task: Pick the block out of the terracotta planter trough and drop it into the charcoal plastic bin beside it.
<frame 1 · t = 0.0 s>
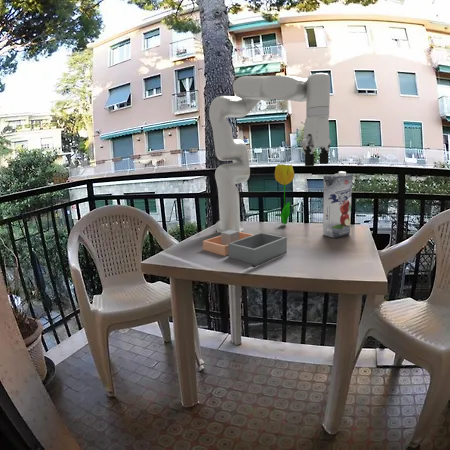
hand: (316, 164, 112), 31 cm above the table, tool pointing down, fingers open, 9 cm apart
trough: (230, 249, 125), on the table
block: (230, 246, 125), point 1 cm above the table, touching trough
juice carton: (336, 235, 137), on the table
flower: (284, 225, 158), on the table
bin: (258, 256, 115), on the table
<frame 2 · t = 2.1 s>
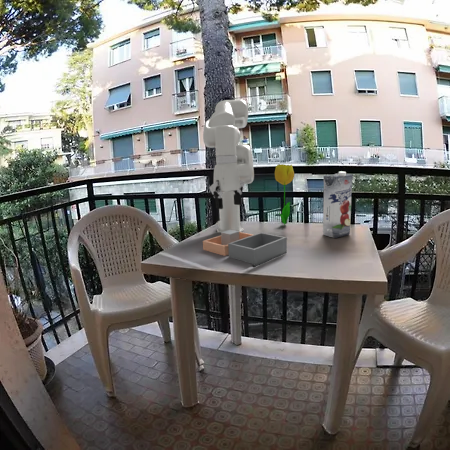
hand: (228, 206, 121), 17 cm above the table, tool pointing down, fingers open, 9 cm apart
nothing on the table moved.
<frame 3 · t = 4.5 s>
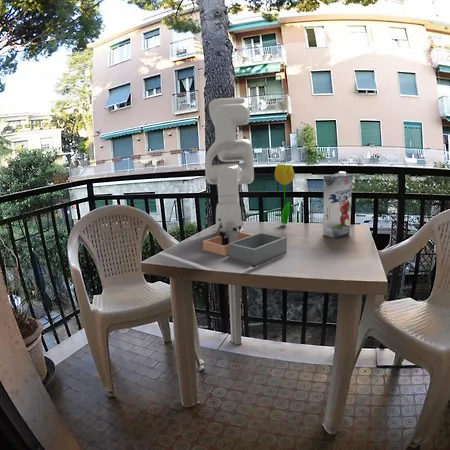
hand: (230, 244, 125), 2 cm above the table, tool pointing down, fingers closed on block, 5 cm apart
block: (230, 246, 125), point 1 cm above the table, touching gripper, trough
everything else where it was.
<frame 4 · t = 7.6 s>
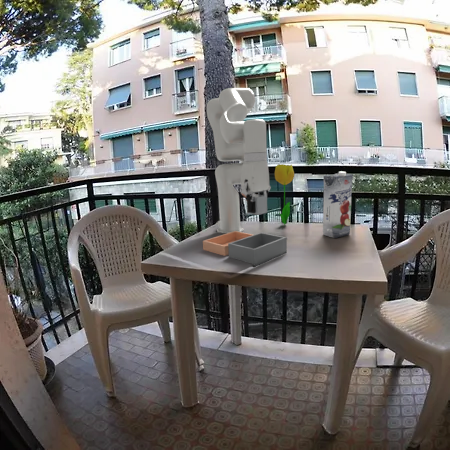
hand: (257, 210, 111), 17 cm above the table, tool pointing down, fingers closed on block, 5 cm apart
block: (257, 212, 112), point 16 cm above the table, touching gripper
everything else where it was.
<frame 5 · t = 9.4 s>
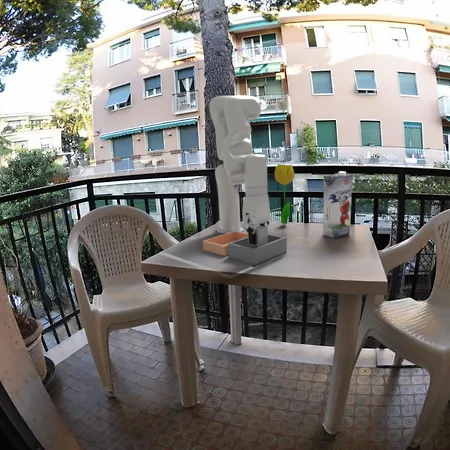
hand: (258, 241, 114), 6 cm above the table, tool pointing down, fingers closed on block, 5 cm apart
block: (258, 243, 114), point 5 cm above the table, touching gripper
everything else where it was.
when the fingers open (4 cm above the table, at t = 10.7 s): block drops 2 cm, resting on bin.
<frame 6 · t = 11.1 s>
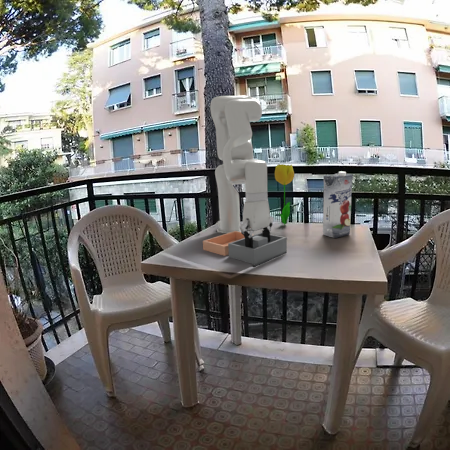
hand: (257, 244, 114), 4 cm above the table, tool pointing down, fingers open, 9 cm apart
block: (258, 254, 115), point 1 cm above the table, touching bin
everything else where it was.
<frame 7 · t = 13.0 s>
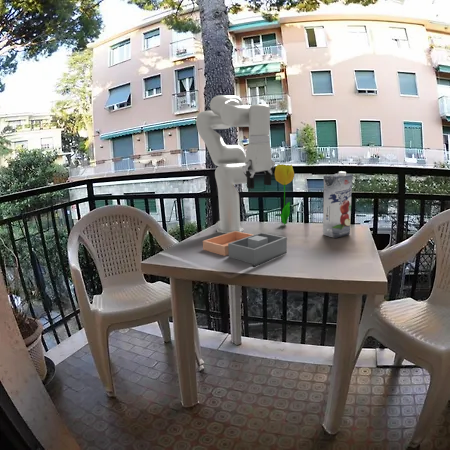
hand: (259, 186, 122), 24 cm above the table, tool pointing down, fingers open, 9 cm apart
nothing on the table moved.
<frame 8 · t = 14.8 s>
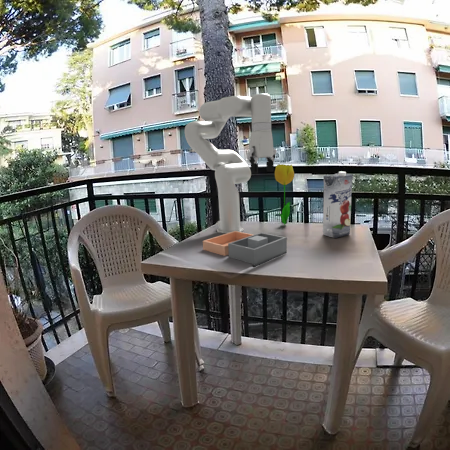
hand: (262, 172, 128), 28 cm above the table, tool pointing down, fingers open, 9 cm apart
nothing on the table moved.
at the end: block inside the target area on the bin (0.1 cm from its centre), point 0.8 cm above the bin's base; the gripper is holding nothing; block tilted 0° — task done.
